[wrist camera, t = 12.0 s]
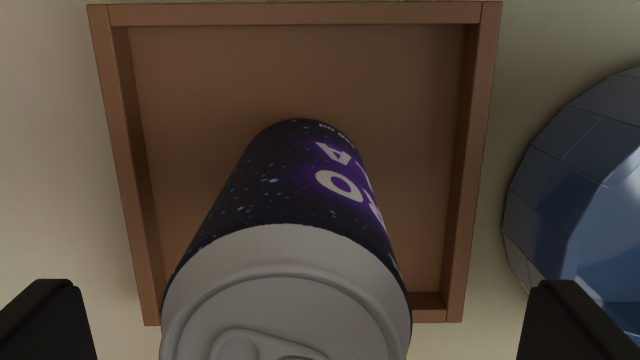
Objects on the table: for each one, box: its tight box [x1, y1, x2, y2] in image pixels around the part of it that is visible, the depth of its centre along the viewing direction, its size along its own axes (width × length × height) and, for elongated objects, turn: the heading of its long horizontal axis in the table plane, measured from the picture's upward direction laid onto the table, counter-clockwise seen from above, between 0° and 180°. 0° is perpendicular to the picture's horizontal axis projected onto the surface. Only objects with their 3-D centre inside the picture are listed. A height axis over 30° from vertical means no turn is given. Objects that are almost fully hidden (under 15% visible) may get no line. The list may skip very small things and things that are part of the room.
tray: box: [86, 1, 503, 326], centre depth 19 cm, size 16×15×2 cm
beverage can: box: [159, 118, 412, 360], centre depth 14 cm, size 6×6×12 cm
